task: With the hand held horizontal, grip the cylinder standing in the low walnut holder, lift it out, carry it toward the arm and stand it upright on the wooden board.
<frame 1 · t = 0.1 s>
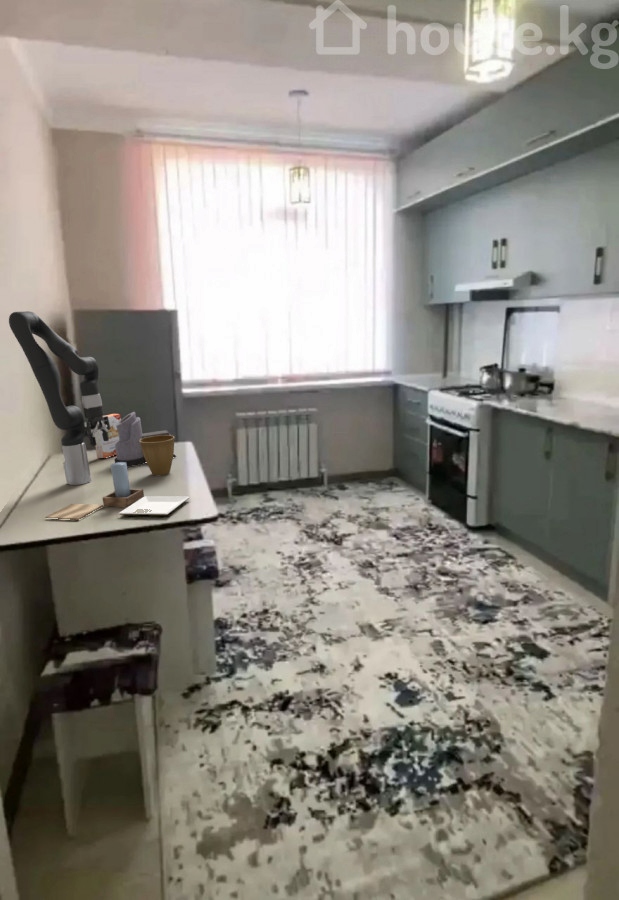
hand: (100, 443, 241), 17 cm above the table, tool pointing down, fingers open, 8 cm apart
plate: (156, 510, 205), on the table
wooden board: (75, 513, 207), on the table
holder: (124, 502, 216), on the table
plant pot: (161, 474, 253), on the table
cylinder: (121, 483, 214), in the holder
cracker box: (111, 456, 295), on the table
grey boots: (144, 461, 279), on the table
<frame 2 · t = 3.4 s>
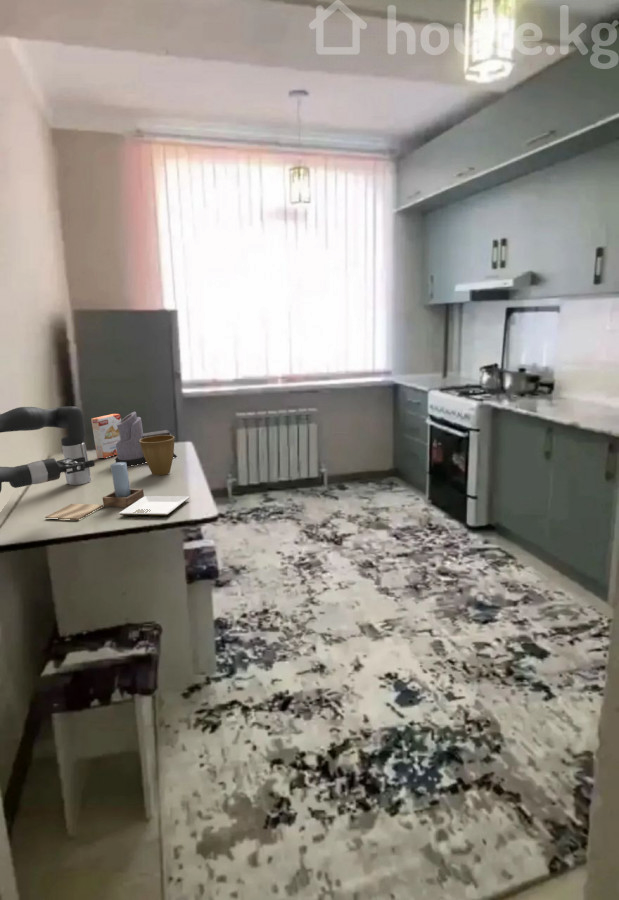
hand: (89, 461, 204), 18 cm above the table, tool horizontal, fingers open, 8 cm apart
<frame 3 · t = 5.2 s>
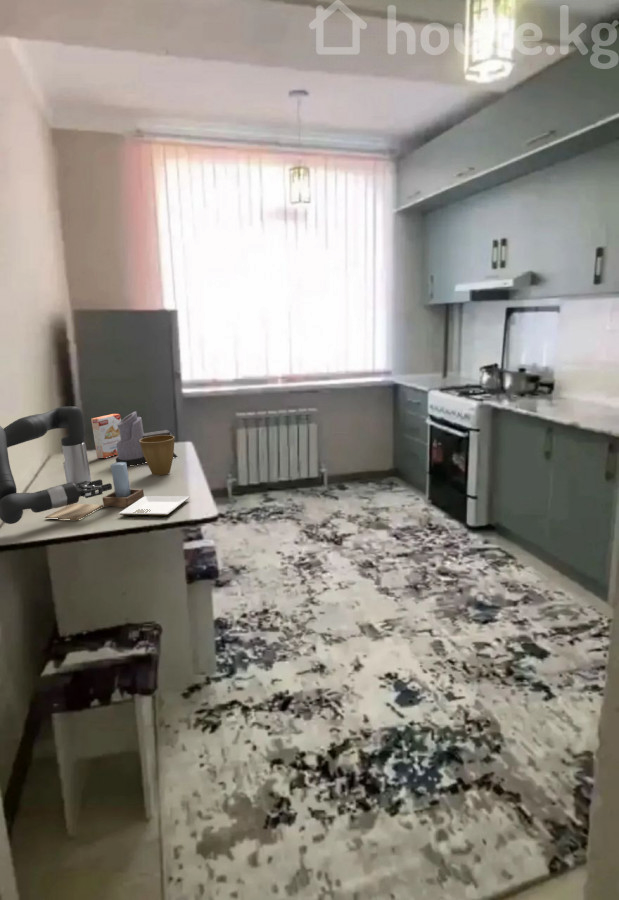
hand: (106, 484, 210), 9 cm above the table, tool horizontal, fingers open, 8 cm apart
nothing on the table moved.
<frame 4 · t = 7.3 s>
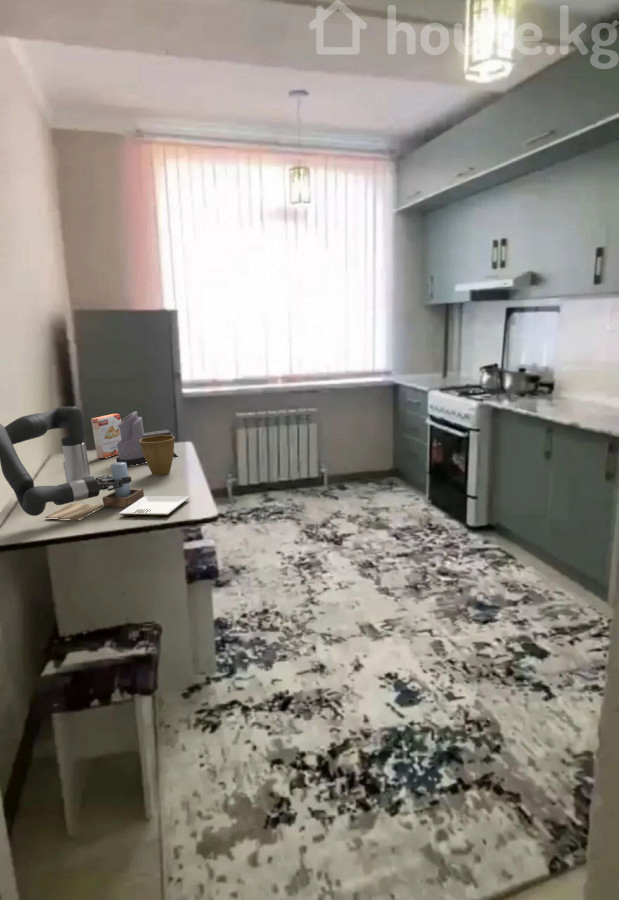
hand: (127, 477, 215), 9 cm above the table, tool horizontal, fingers closed on cylinder, 5 cm apart
cylinder: (121, 483, 214), in the holder, touching gripper
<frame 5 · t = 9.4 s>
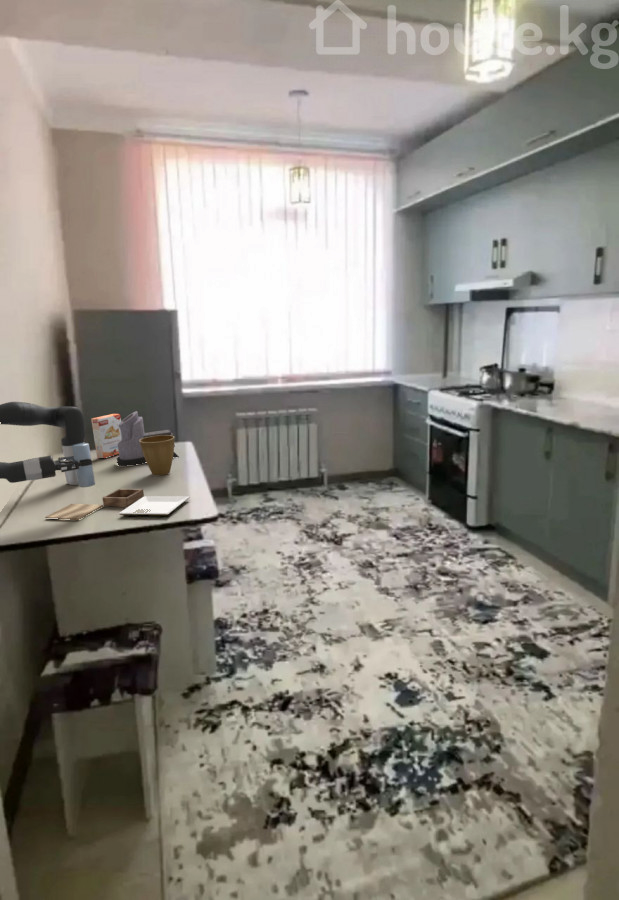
hand: (90, 459, 206), 19 cm above the table, tool horizontal, fingers closed on cylinder, 5 cm apart
cylinder: (83, 465, 205), point 17 cm above the table, touching gripper
when the fingers open (11 cm above the table, at t = 11.8 s): cylinder stays where it is, resting on wooden board.
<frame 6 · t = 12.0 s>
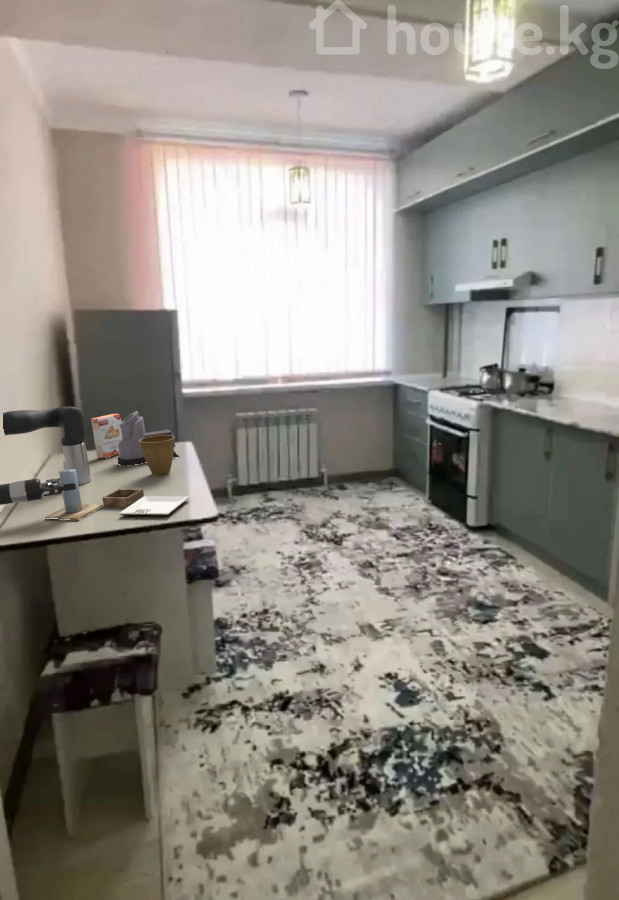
hand: (76, 483, 205), 11 cm above the table, tool horizontal, fingers open, 7 cm apart
cylinder: (70, 490, 205), on the wooden board, point 8 cm above the table
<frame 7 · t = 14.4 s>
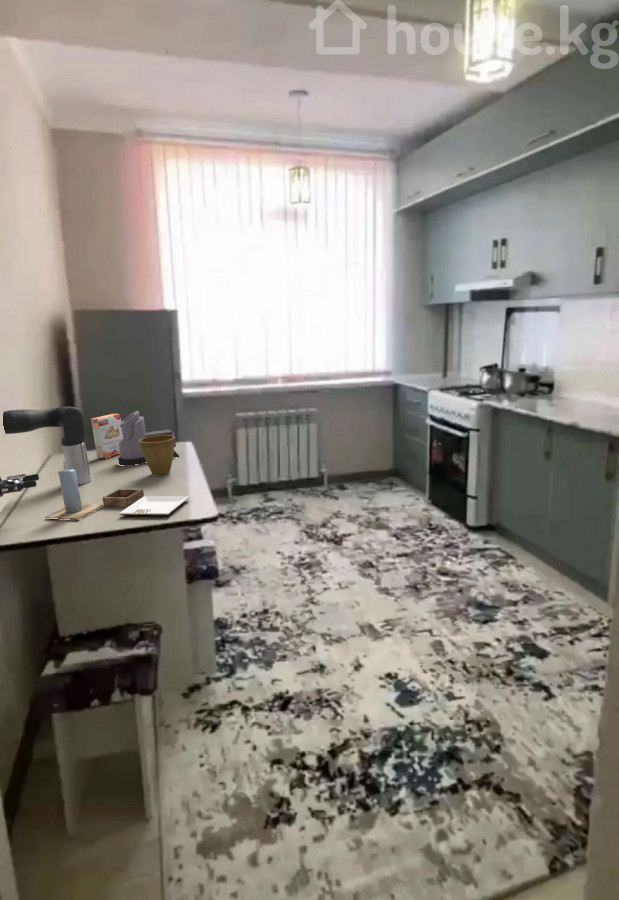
hand: (37, 479, 201), 14 cm above the table, tool horizontal, fingers open, 8 cm apart
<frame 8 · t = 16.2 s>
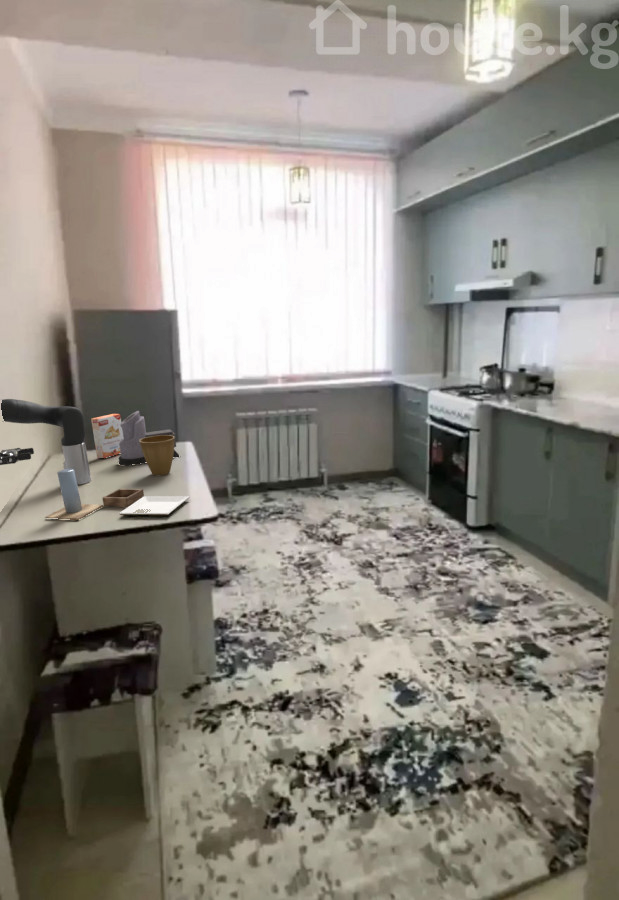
hand: (32, 453, 198), 24 cm above the table, tool horizontal, fingers open, 8 cm apart
at the end: cylinder inside the target area on the wooden board (0.3 cm from its centre), point 8.6 cm above the wooden board's base; cylinder tilted 1°; the gripper is holding nothing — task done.
